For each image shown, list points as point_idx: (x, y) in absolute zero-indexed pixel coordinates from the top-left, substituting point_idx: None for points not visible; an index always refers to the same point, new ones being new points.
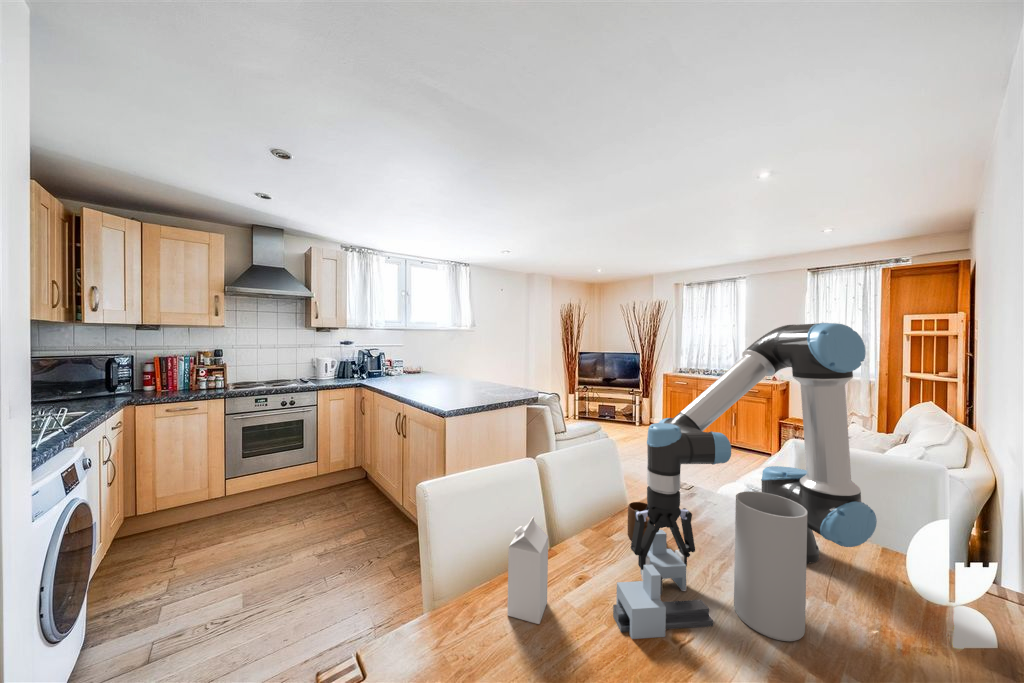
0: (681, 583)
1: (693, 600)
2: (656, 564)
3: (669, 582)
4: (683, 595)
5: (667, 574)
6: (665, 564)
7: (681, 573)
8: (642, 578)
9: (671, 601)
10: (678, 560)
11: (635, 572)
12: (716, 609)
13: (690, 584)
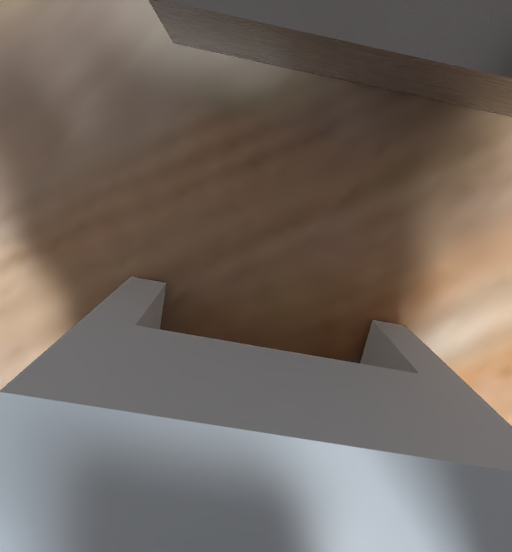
0: (151, 313)
1: (248, 7)
2: (470, 528)
3: None
4: (182, 248)
5: (320, 379)
6: (334, 496)
7: (131, 346)
8: None
9: (500, 70)
10: (48, 525)
11: None
12: (16, 23)
13: (34, 339)
